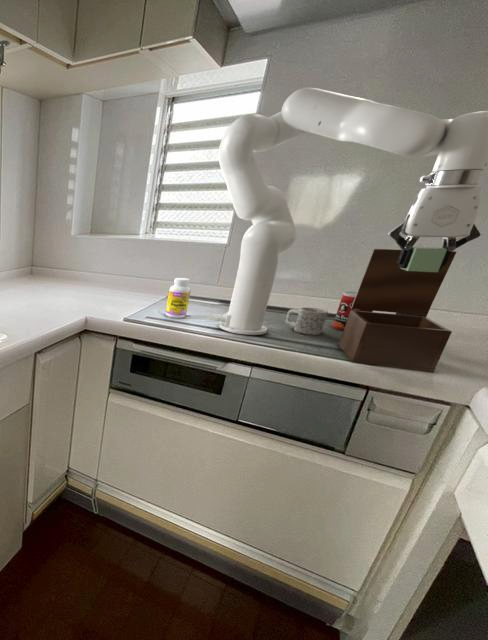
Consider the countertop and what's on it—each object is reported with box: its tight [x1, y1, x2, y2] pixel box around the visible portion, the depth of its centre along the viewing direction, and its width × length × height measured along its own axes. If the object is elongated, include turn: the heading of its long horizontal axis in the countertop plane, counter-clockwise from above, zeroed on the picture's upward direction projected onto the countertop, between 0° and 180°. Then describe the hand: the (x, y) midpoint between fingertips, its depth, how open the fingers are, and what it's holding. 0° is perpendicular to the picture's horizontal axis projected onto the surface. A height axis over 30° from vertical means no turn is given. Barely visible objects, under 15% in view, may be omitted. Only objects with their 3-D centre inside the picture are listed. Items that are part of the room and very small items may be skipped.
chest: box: [338, 310, 453, 373], centre depth 99 cm, size 15×15×10 cm
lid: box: [351, 248, 457, 316], centre depth 101 cm, size 15×15×5 cm
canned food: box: [332, 290, 374, 332], centre depth 123 cm, size 8×8×11 cm
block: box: [400, 246, 447, 272], centre depth 91 cm, size 5×5×5 cm
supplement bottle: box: [165, 277, 192, 319], centre depth 138 cm, size 7×7×13 cm
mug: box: [285, 307, 329, 336], centre depth 123 cm, size 10×7×7 cm
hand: (419, 267), depth 92 cm, fingers closed on block, 5 cm apart
